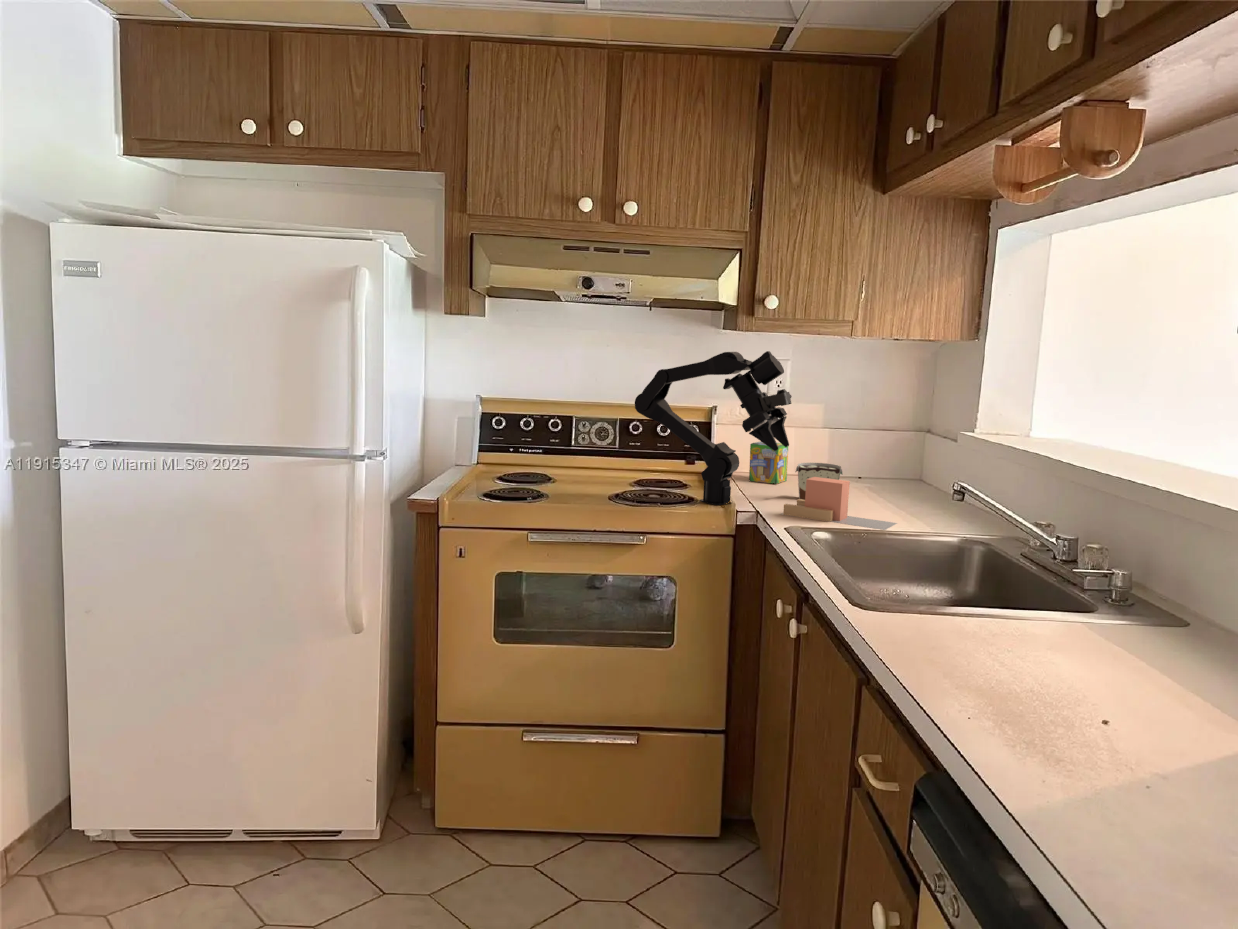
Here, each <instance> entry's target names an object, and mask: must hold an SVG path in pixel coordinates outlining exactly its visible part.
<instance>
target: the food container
mask: <svg viewBox="0 0 1238 929" xmlns="http://www.w3.org/2000/svg"><path fill="white" fill-rule="evenodd" d="M795 473H797V481H798V483H797V485H798V499H803V500H805V494H806V479H809V478H812V477H820V478H828V479H836V480H840V477H841V475H843V469H842V466H840V465H838V464H834V463H833V464H832V463H825V462H824V463H823V462H801V463H798V464H797V465H796V469H795Z"/></svg>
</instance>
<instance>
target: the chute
mask: <svg viewBox="0 0 1238 929" xmlns="http://www.w3.org/2000/svg"><path fill="white" fill-rule="evenodd" d="M780 515H782V516H787V517H795V518H803V519H810V520H815V521H824V522H829V523H834V524H840V525H841V524H842V525H847V526H854V527H862V528H867V529H868V528H869V529H876V530H882V531H886V530H888V529H890V528H892V527H893V526H895V525H897V524H898V523H897V522H893V521H892V522H891V521H886V520H878V519H871V518H865V517H857V516H851V515H847V518H845V519H843V520H841V521H836V520H833V510H827V509H820V508H813V507H806V506H805V500H803V499H799V498H798V499H796V504H791V503H785V504H783V512H780Z"/></svg>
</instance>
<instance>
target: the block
mask: <svg viewBox="0 0 1238 929" xmlns="http://www.w3.org/2000/svg"><path fill="white" fill-rule="evenodd" d="M850 482H851V481H850V480H843V479H839V480H836V479H828V478H820V477H812V478H809V479H806V494H805V506H806V507H813V508H820V509H827V510H833V520H836V521H841V520H843V519H845V518H847V516H848V510H849V509H848V508H849V498H850V497H849V495H850V484H851V483H850Z"/></svg>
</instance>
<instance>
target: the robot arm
mask: <svg viewBox="0 0 1238 929" xmlns="http://www.w3.org/2000/svg"><path fill="white" fill-rule="evenodd" d="M742 371H747V372H745V373H744V374H742V373H741V372H742ZM784 373H785V369H784V367H783V365H782V363H781V362H780V360H778V358H776V356H774V355H773V353H772V352H771V351H770V350H768V351H765V352H764V353H762V354H761V355H760V356H759V357H758V358H756V359H755V360H753V361H752V360H749V359H746V358H744V356H743V355H742V354H741V353H739V351H724V352H721V353H718V354H716V355H714V356H711V357H710V358H708V359H706V360H704V361H698V362H694V363H689V364H685V365H680V366H675V367H671V368H663V369H659V370H657V371H656V372H655V375H654V376H653V378H652V379H651V381H649V383H648V384H647V385H646V386H645V387H644V389H643V390H642V392H641V393H639V394H638V395H637V396H636V397H635V400H634V409H635V411H636V412H637V413H638V414H640V415H642V416H644V417H645V418H647V419H649V420H652V421H655V422H658V423H660V424H661V425H663V426H664V427H665V428H666V429H667V430H668V431H670V432H671V433H672V434H674V435H675V436H676V437H677V438H679V439H680V440H681V441H682V442H684V443H685V444H686V445H688V446H689V447H690V448H691V449H693V451H695V452H696V453H698V454H699V455H700V456H701V458H702V459H703V461H704V463H705V464H706V466H707V467H705V469H703V470H702V472H701V473H700V474H701V475H700V476H701V477H702V480H703V494H702V497H703V498H701V499H699V500H698V501H699V503H705V504H708V505H714V506H722V505H727V504H726V503H728V502H729V501H730V500H731V495H732V494H731V493H732V490H731V489H732V487H731V480H730V479H731V478H732V476H733V474H734V473H735V472H736V471H737V470H738V469H739V467H740V458H739V456H738V455H737V454H736V450H735V449H732V448H731V447H730V446H729V445H728V444H727V443H726V442H725V441H723V442H719V443H714V442H712V441H711V440H710V439H708V438H707V437H706V436H705V435H703V434H702V433H701V432H700V431H698V430H697V429H696V428H695V427H693V426H692V425H691V424H690V423H689V422H687V421H686V420H685V419H683V418H682V417H681V416H679V415H678V414H677V413H675V412H674V410H673V409H672V408H671V406H670V404H669V403H668V401H667V399H666V397H667V396H668V394H669V392H670V391H669V390H670V388H671V385H672V384H673V383H674V382H675V383H676V382H681V381H685V380H691V379H696V378H700V377H703V376H704V377H705V376H721V375H722V376H726V375H735V376H733V377H732V378H729V377H728V378H725V379H724V383H723V387H722V389H723V390H730V389H733V392H734V393H735V395H736V396H737V398H738V399H739V401H740V402H741V404H740V405H739V406H740V407H741V409H745V412H747V414H748V417H747V418H745V419H743V421H742V425H741V427H742V429H743V430H744V432H745V433H748V435H751V436H752V437H753V438H756V440H758V441H759V442H763V443H764V444H766V445H767V446H768V447H770V448H771V449H773V450H774V451H776V450H778V449H779V448H778V445H777V443H781V444H782V445H784V446H785V447H787V446H788V447H790V442H789V439H788V434H787V431H786V428H785V422H786V419H787V417H788V416H787V415H788V413H787V411H786V410H785V408H784V407H782V406H789V405H791V404H792V400H791V399H792V394H791V393H790V391H787V390H786V389H785V388H784V389H778V390H777V392H776V394H773V395H768V394H767V392H765V391H764V392H763V391H762V390H761V388H760V386H758V385H760V384H761V385H763V386H766V385H768V384H770V382H771V383H772V381H774V380H775V379H777V378H778V377H780V376H781V375H784ZM780 406H781V407H780ZM777 441H778V442H777Z"/></svg>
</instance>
